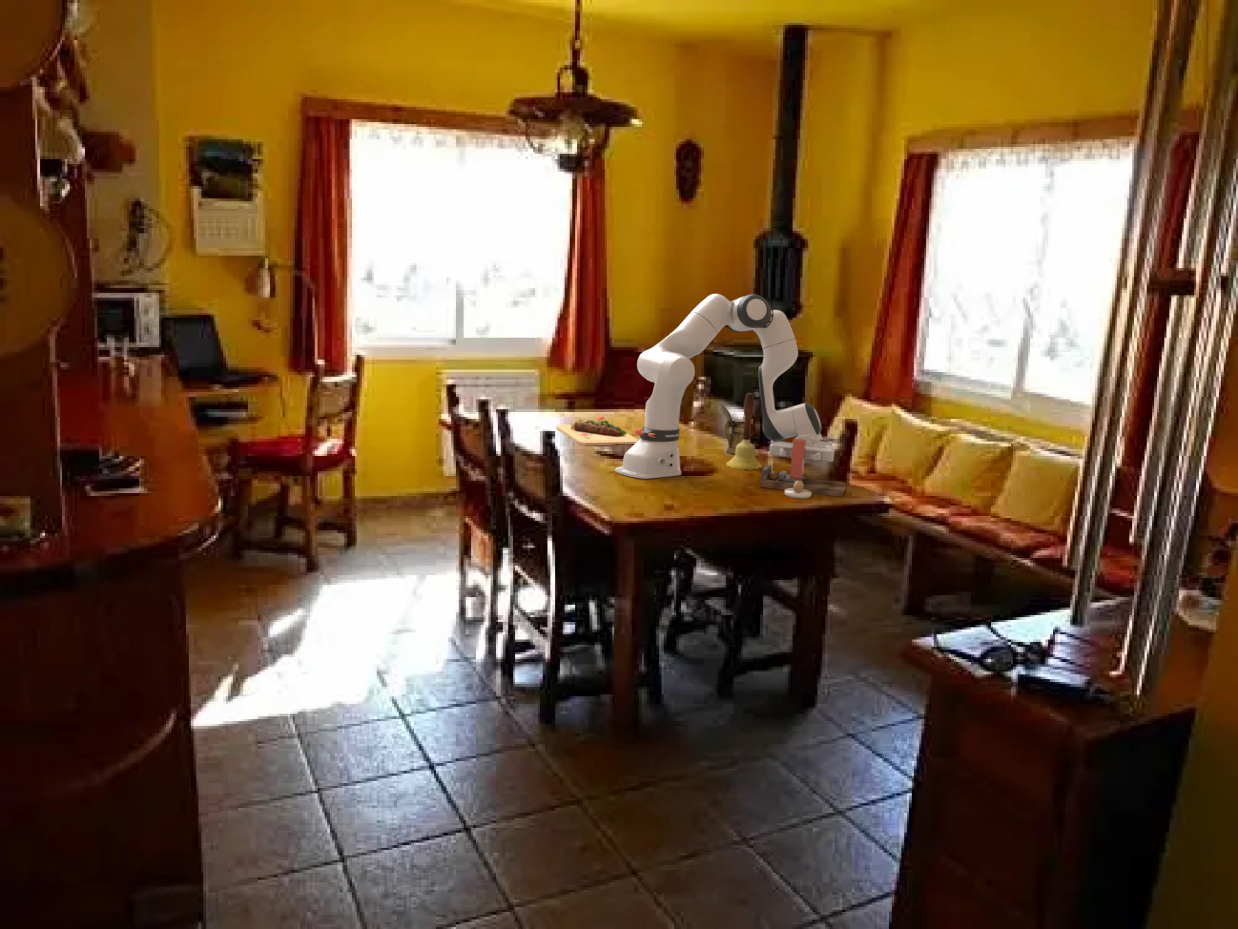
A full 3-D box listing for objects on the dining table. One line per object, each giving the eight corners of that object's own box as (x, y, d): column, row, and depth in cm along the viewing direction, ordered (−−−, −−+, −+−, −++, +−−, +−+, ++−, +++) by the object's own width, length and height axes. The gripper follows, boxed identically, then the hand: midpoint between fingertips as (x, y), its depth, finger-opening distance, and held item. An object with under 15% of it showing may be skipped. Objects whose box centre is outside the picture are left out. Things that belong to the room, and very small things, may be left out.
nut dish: (801, 499, 287) (802, 486, 286) (779, 494, 293) (780, 480, 292) (816, 496, 293) (817, 482, 292) (794, 490, 298) (795, 477, 297)
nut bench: (760, 486, 301) (761, 470, 300) (765, 480, 310) (767, 464, 309) (841, 496, 294) (843, 480, 292) (844, 489, 303) (846, 473, 302)
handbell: (752, 461, 338) (758, 390, 333) (768, 469, 327) (775, 396, 321) (720, 462, 334) (725, 390, 329) (735, 470, 323) (741, 396, 317)
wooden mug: (711, 450, 353) (714, 401, 349) (744, 450, 357) (748, 402, 353) (721, 455, 345) (725, 405, 341) (755, 455, 349) (759, 406, 345)
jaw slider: (778, 482, 301) (782, 439, 298) (781, 478, 307) (785, 436, 304) (802, 485, 299) (806, 442, 296) (805, 481, 305) (809, 439, 302)
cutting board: (554, 429, 382) (555, 410, 380) (610, 428, 389) (611, 410, 388) (581, 447, 349) (582, 426, 348) (641, 446, 357) (643, 426, 356)
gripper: (773, 435, 316) (766, 442, 303) (837, 442, 309) (832, 449, 297) (772, 454, 317) (764, 462, 304) (835, 461, 311) (830, 469, 298)
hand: (798, 456), depth 300 cm, fingers open, 8 cm apart
